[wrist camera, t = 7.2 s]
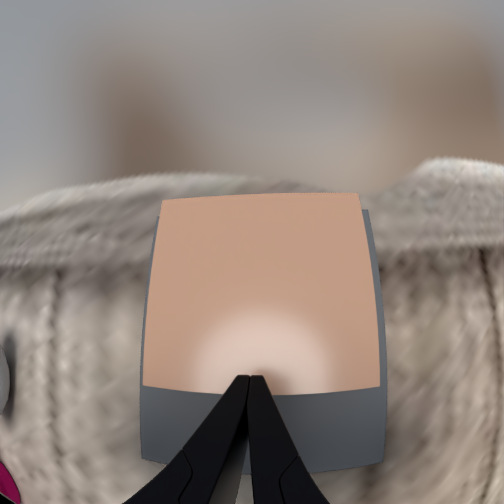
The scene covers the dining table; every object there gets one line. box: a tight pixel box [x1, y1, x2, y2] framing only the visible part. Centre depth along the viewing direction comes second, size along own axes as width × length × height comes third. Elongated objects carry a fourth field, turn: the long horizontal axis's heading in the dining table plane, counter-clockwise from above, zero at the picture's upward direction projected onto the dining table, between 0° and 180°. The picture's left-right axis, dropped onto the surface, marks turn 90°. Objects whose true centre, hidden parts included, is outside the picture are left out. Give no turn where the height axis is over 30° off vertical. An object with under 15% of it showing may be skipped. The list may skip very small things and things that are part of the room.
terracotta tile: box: [143, 193, 380, 395], centre depth 15 cm, size 3×12×11 cm
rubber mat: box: [140, 210, 387, 474], centre depth 16 cm, size 17×15×1 cm
